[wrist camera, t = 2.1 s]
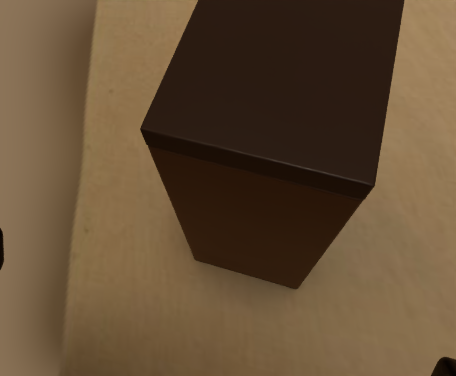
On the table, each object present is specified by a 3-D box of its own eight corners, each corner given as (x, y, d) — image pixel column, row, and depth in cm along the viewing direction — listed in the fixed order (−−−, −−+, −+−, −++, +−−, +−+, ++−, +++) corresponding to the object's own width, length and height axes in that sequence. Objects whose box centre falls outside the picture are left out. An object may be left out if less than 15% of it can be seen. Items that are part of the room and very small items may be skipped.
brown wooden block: (297, 289, 20) (375, 187, 8) (194, 259, 21) (138, 128, 9) (320, 185, 22) (405, -5, 11) (226, 162, 23) (214, -38, 12)
